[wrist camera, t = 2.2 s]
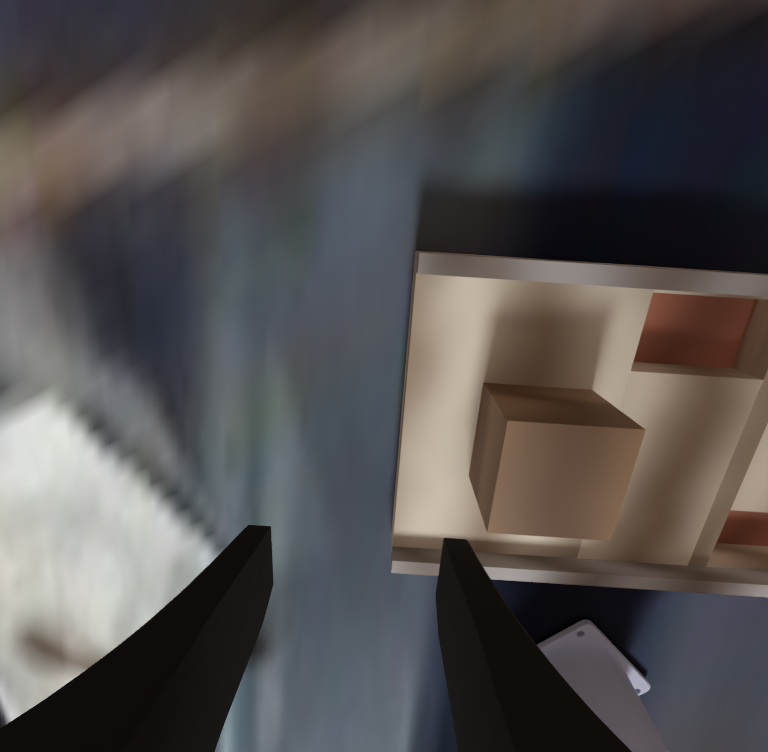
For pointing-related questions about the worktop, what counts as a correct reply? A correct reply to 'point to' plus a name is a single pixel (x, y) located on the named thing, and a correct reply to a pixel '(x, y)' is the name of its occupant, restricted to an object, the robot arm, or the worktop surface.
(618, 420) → the walnut block
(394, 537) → the board
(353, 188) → the worktop surface
